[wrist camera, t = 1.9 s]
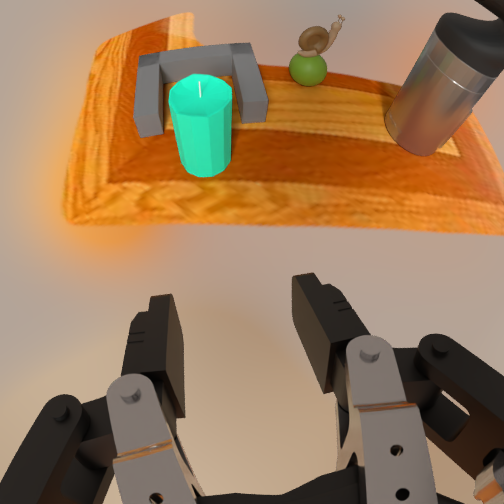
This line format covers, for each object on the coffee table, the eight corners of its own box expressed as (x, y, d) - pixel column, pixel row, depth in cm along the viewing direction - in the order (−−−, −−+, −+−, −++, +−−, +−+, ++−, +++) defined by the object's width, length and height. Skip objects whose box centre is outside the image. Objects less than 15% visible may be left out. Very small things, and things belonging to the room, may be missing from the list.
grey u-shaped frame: (248, 62, 42) (250, 42, 38) (265, 121, 38) (268, 100, 35) (144, 75, 40) (139, 55, 36) (140, 137, 36) (133, 117, 33)
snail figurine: (334, 88, 42) (357, 26, 30) (299, 97, 40) (317, 29, 29) (314, 66, 43) (330, 6, 31) (279, 74, 42) (291, 9, 30)
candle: (176, 143, 36) (161, 70, 25) (223, 132, 37) (223, 57, 26) (187, 183, 35) (171, 112, 23) (237, 169, 36) (242, 96, 24)
